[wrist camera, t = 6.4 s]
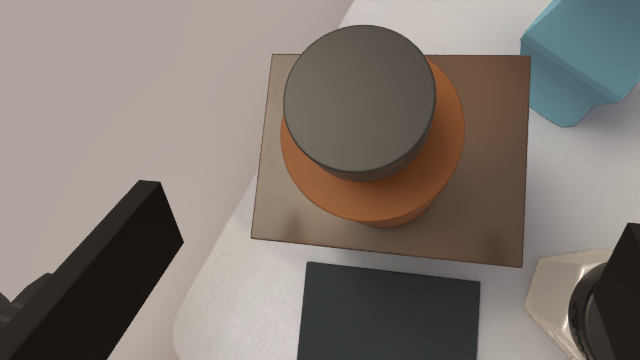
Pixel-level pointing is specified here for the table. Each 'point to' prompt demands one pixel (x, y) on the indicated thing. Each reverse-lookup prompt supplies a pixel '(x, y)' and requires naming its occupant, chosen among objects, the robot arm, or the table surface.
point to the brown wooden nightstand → (455, 198)
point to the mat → (386, 315)
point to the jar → (570, 303)
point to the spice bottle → (370, 126)
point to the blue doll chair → (582, 56)
